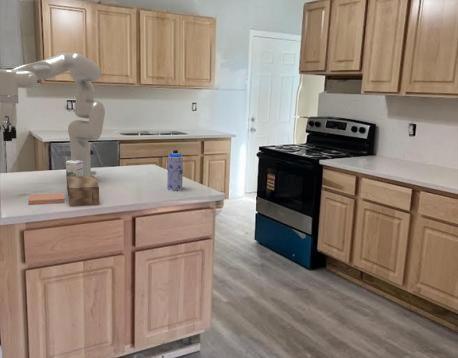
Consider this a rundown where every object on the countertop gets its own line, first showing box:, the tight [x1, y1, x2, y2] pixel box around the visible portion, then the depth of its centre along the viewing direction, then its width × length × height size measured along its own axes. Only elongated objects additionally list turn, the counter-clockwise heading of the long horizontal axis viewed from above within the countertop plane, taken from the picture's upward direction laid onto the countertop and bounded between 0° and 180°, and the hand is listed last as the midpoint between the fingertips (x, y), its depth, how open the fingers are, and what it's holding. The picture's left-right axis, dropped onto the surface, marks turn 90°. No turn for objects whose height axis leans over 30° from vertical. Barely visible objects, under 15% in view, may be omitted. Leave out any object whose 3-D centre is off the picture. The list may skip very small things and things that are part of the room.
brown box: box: [66, 175, 100, 207], centre depth 199 cm, size 12×22×8 cm, turn 22°
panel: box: [28, 192, 65, 206], centre depth 194 cm, size 14×10×2 cm
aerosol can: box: [166, 149, 184, 192], centre depth 223 cm, size 8×8×20 cm
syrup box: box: [65, 159, 83, 192], centre depth 212 cm, size 6×6×14 cm
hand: (10, 139), depth 191 cm, fingers open, 9 cm apart
